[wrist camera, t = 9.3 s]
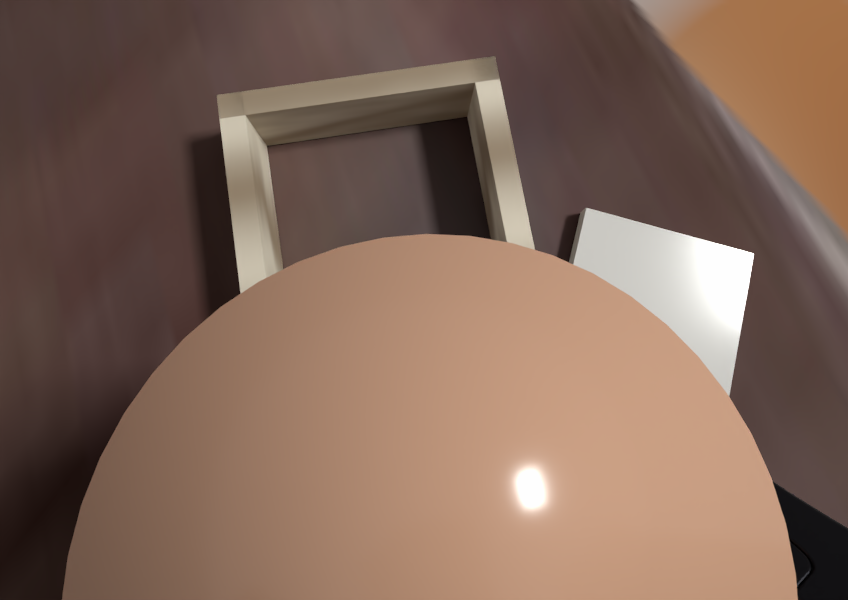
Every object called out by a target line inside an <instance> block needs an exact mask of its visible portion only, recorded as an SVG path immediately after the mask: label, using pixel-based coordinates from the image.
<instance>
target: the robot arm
mask: <svg viewBox="0 0 848 600" xmlns="http://www.w3.org/2000/svg"><path fill="white" fill-rule="evenodd" d="M772 482H773V481H772ZM773 485H774V488H775V491H776V494H777V497H778V500H779V504H780V507H781V510H782V513H783V516H784V519H785V522H786V526H787V531H788V536H789V541H790V546H791V552H792V557H793V562H794V567H795V572H796V582H797V595H798V600H848V528H847V527H845V526H843V525H842V524H840V523H838V522H837V521H835V520H833V519H832V518H830V517H828V516H827V515H825V514H823V513H822V512H820V511H818V510H817V509H815V508H814V507H812V506H810V505H809V504H807V503H806V502H804V501H802V500H801V499H799V498H797V497H796V496H794V495H793V494H791V493H790V492H788V491H787V490H785V489H784V488H782V487H781V486H779V485H778V484H776V483H775V482H773Z"/></svg>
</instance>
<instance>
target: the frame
mask: <svg viewBox="0 0 848 600" xmlns="http://www.w3.org/2000/svg"><path fill="white" fill-rule="evenodd" d="M217 102H218V110H219V119H220V127H221V135H222V144H223V152H224V160H225V169H226V177H227V185H228V194H229V202H230V210H231V219H232V227H233V235H234V244H235V252H236V260H237V269H238V277H239V285H240V294H241V293H242V292H244V291H245V290H247V289H248V288H250V287H251V286H253V285H254V284H256V283H257V282H259V281H261V280H263V279H265V278H267V277H269V276H271V275H273V274H275V273H277V272H279V271H281V270H283V263H282V256H281V248H280V241H279V233H278V226H277V218H276V211H275V203H274V196H273V188H272V181H271V173H270V166H269V158H268V151H267V146H270V145H277V144H284V143H291V142H298V141H305V140H312V139H318V138H325V137H332V136H339V135H346V134H353V133H360V132H366V131H373V130H380V129H387V128H394V127H401V126H408V125H414V124H421V123H428V122H435V121H442V120H449V119H456V118H462V117H467V118H468V123H469V128H470V134H471V139H472V144H473V149H474V154H475V159H476V164H477V170H478V175H479V180H480V185H481V190H482V195H483V200H484V206H485V211H486V216H487V221H488V226H489V231H490V236H491V240H497V241H503V242H509V243H514V244H517V245H520V246H523V247H527V248H530V249H533V250H535V248H534V243H533V238H532V234H531V229H530V224H529V219H528V214H527V209H526V205H525V200H524V195H523V190H522V185H521V180H520V175H519V171H518V166H517V161H516V156H515V151H514V146H513V142H512V137H511V132H510V127H509V122H508V117H507V113H506V108H505V103H504V98H503V93H502V88H501V83H500V79H499V74H498V69H497V64H496V59H495V56H494V57H487V58H480V59H472V60H465V61H458V62H451V63H444V64H437V65H429V66H422V67H415V68H408V69H401V70H394V71H386V72H379V73H372V74H365V75H358V76H350V77H343V78H336V79H329V80H322V81H315V82H307V83H300V84H293V85H286V86H279V87H272V88H264V89H257V90H250V91H243V92H236V93H229V94H221V95H217Z"/></svg>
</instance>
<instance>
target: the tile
mask: <svg viewBox="0 0 848 600" xmlns="http://www.w3.org/2000/svg"><path fill="white" fill-rule="evenodd" d="M753 257H754V253H750V252H746V251H743V250H739V249H735V248H732V247H728V246H724V245H721V244H717V243H713V242H710V241H706V240H702V239H699V238H695V237H691V236H688V235H684V234H680V233H677V232H673V231H669V230H666V229H662V228H658V227H655V226H651V225H647V224H644V223H640V222H636V221H633V220H629V219H625V218H622V217H618V216H614V215H611V214H607V213H603V212H600V211H596V210H592V209H589V208H586V209H584V210H583V211H582V212H581V213H580V217H579V221H578V225H577V230H576V234H575V238H574V242H573V247H572V251H571V255H570V260H569V263H571V264H573V265H575V266H578V267H580V268H582V269H584V270H587V271H589V272H591V273H593V274H595V275H597V276H598V277H600V278H602V279H603V280H605V281H607V282H608V283H610V284H611V285H613V286H615V287H616V288H618V289H620V290H621V291H623V292H625V293H626V294H628V295H630V296H631V297H632V298H634V299H635V300H636V301H638V302H639V303H640V304H641V305H643V306H644V307H645V308H646V309H648V310H649V311H650V312H651V313H653V314H654V315H655V316H657V317H658V318H659V319H660V320H662V321H663V322H664V323H665V324H667V325H668V326H669V327H670V328H671V329H672V330H673V331H674V332H675V333H676V334H677V335H678V337H679V338H680V339H681V340H682V341H683V342H684V343H685V344H686V345H687V346H688V347H689V348H690V349H691V350H692V351H693V352H694V353H695V354H696V355H697V356H698V357H699V358H700V359H701V361H702V362H703V363H704V364H705V366H706V367H707V368H708V370H709V371H710V372H711V373H712V375H713V376H714V377H715V379H716V380H717V381H718V382H719V384H720V385H721V386H722V388H723V389H724V390H725V391H726V393H727V394H728V396H729V394H730V389H731V383H732V377H733V371H734V366H735V360H736V354H737V349H738V343H739V337H740V331H741V326H742V320H743V314H744V309H745V303H746V297H747V291H748V286H749V280H750V274H751V269H752V263H753Z"/></svg>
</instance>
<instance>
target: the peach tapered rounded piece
mask: <svg viewBox="0 0 848 600" xmlns="http://www.w3.org/2000/svg"><path fill="white" fill-rule="evenodd" d="M62 600H798V595H797V582H796V572H795V567H794V562H793V557H792V552H791V546H790V541H789V536H788V531H787V526H786V522H785V519H784V516H783V513H782V510H781V507H780V504H779V500H778V497H777V494H776V491H775V488H774V485H773V482H772V478H771V476H770V474H769V472H768V469H767V467H766V465H765V463H764V461H763V458H762V456H761V454H760V452H759V450H758V447H757V445H756V443H755V441H754V438H753V436H752V434H751V432H750V431H749V429H748V427H747V426H746V424H745V422H744V421H743V419H742V417H741V416H740V414H739V412H738V411H737V409H736V407H735V406H734V404H733V402H732V401H731V399H730V398H729V396H728V394H727V393H726V391H725V390H724V389H723V388H722V386H721V385H720V384H719V382H718V381H717V380H716V379H715V377H714V376H713V375H712V373H711V372H710V371H709V370H708V368H707V367H706V366H705V364H704V363H703V362H702V361H701V359H700V358H699V357H698V356H697V355H696V354H695V353H694V352H693V351H692V350H691V349H690V348H689V347H688V346H687V345H686V344H685V343H684V342H683V341H682V340H681V339H680V338H679V337H678V335H677V334H676V333H675V332H674V331H673V330H672V329H671V328H670V327H669V326H668V325H667V324H665V323H664V322H663V321H662V320H660V319H659V318H658V317H657V316H655V315H654V314H653V313H651V312H650V311H649V310H648V309H646V308H645V307H644V306H643V305H641V304H640V303H639V302H638V301H636V300H635V299H634V298H632V297H631V296H630V295H628V294H626V293H625V292H623V291H621V290H620V289H618V288H616V287H615V286H613V285H611V284H610V283H608V282H607V281H605V280H603V279H602V278H600V277H598V276H597V275H595V274H593V273H591V272H589V271H587V270H584V269H582V268H580V267H578V266H575V265H573V264H571V263H569V262H567V261H564V260H562V259H560V258H558V257H555V256H553V255H550V254H546V253H543V252H540V251H537V250H533V249H530V248H527V247H523V246H520V245H517V244H514V243H509V242H503V241H497V240H491V239H485V238H479V237H474V236H462V235H438V234H421V235H409V236H397V237H386V238H380V239H375V240H370V241H366V242H361V243H356V244H352V245H347V246H343V247H339V248H336V249H333V250H330V251H328V252H325V253H322V254H319V255H316V256H313V257H311V258H308V259H305V260H302V261H299V262H297V263H295V264H293V265H291V266H289V267H287V268H285V269H283V270H281V271H279V272H277V273H275V274H273V275H271V276H269V277H267V278H265V279H263V280H261V281H259V282H257V283H256V284H254V285H253V286H251V287H250V288H248V289H247V290H245V291H244V292H242V293H241V294H239V295H238V296H236V297H235V298H233V299H232V300H230V301H229V302H227V303H226V304H224V305H223V306H221V307H220V308H219V309H218V310H217V311H215V312H214V313H213V314H212V315H211V316H210V317H208V318H207V319H206V320H205V321H204V322H203V323H201V324H200V325H199V326H198V327H197V328H196V329H194V330H193V331H192V332H191V333H190V334H189V335H187V336H186V337H185V338H184V339H183V340H182V341H181V343H180V344H179V345H178V346H177V347H176V348H175V349H174V350H173V351H172V352H171V354H170V355H169V356H168V357H167V358H166V359H165V360H164V361H163V362H162V363H161V365H160V366H159V367H158V368H157V369H156V370H155V371H154V372H153V373H152V375H151V376H150V378H149V379H148V380H147V382H146V383H145V385H144V386H143V387H142V389H141V390H140V392H139V393H138V394H137V396H136V397H135V399H134V400H133V401H132V403H131V404H130V406H129V407H128V409H127V410H126V411H125V413H124V414H123V416H122V418H121V420H120V422H119V424H118V426H117V427H116V429H115V431H114V433H113V435H112V437H111V438H110V440H109V442H108V444H107V446H106V448H105V449H104V451H103V453H102V455H101V457H100V459H99V462H98V464H97V467H96V469H95V472H94V474H93V477H92V479H91V482H90V484H89V487H88V489H87V492H86V494H85V497H84V499H83V502H82V505H81V508H80V512H79V516H78V519H77V523H76V527H75V531H74V535H73V538H72V542H71V546H70V550H69V554H68V559H67V566H66V573H65V581H64V588H63V595H62Z"/></svg>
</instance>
